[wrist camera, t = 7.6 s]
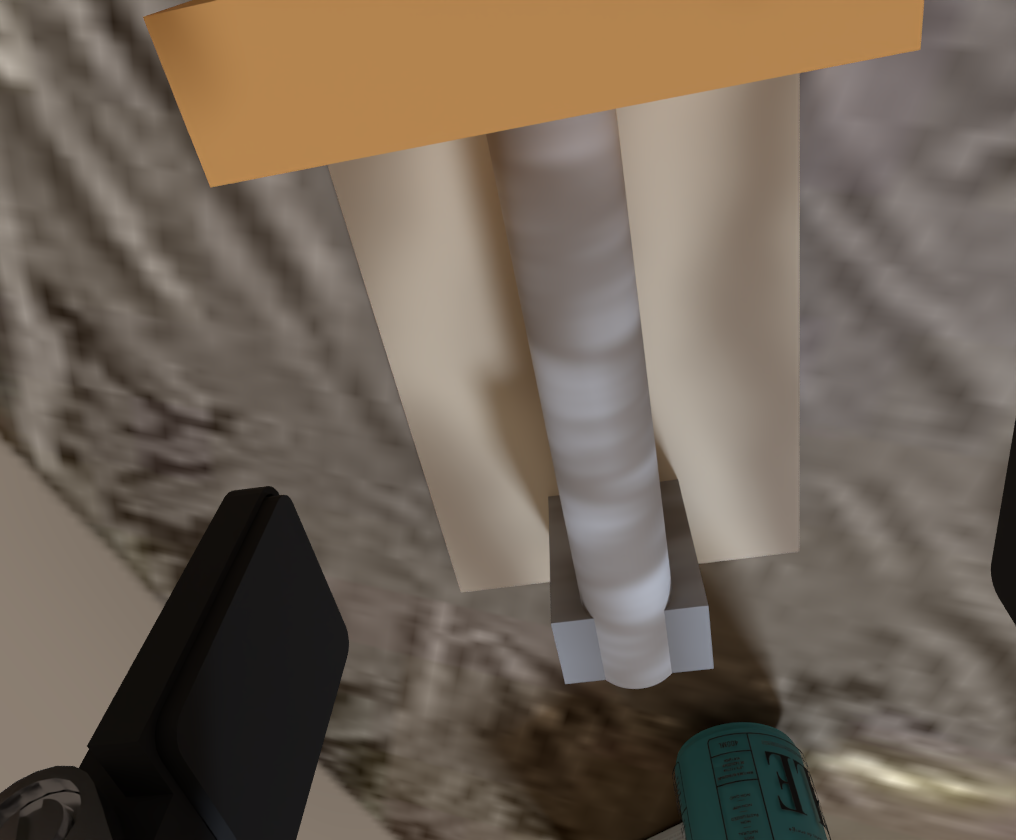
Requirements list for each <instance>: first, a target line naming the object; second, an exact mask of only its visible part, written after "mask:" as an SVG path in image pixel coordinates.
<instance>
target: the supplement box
mask: <svg viewBox="0 0 1016 840" xmlns="http://www.w3.org/2000/svg"><path fill="white" fill-rule="evenodd" d="M682 824H683V823H680V824H678V825H676V826H674V827H672V828H670V829H668V830H666V831H663V832H661V833H659V834H657V835H655V836H653V837H651V838H649V839H647V840H682V839H683V840H686V838H685V831H683V830H684V829H683V827H684V825H683V826H682ZM681 828H682V829H681ZM681 830H682V831H683V833H682V832H681ZM682 834H683V835H682ZM682 836H683V837H684V838H683V837H682Z"/></svg>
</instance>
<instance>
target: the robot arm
mask: <svg viewBox="0 0 1016 840" xmlns="http://www.w3.org/2000/svg"><path fill="white" fill-rule="evenodd" d="M991 577H992V582H993V586H994V588H995V591H996V593H997V595H998V597H999V599H1000V600H1001V602H1002V604H1003V605H1004V607H1005V609H1006V610H1007V612H1008V613H1009V615H1010V617H1011V618H1012V620H1013V622H1014V623H1015V625H1016V420H1015V426H1014V432H1013V438H1012V444H1011V450H1010V456H1009V462H1008V468H1007V474H1006V480H1005V485H1004V491H1003V497H1002V503H1001V509H1000V515H999V521H998V527H997V533H996V539H995V545H994V551H993V557H992V563H991ZM348 649H349V639H348V632H347V629H346V626H345V623H344V621H343V619H342V616H341V614H340V612H339V609H338V607H337V605H336V602H335V600H334V598H333V595H332V593H331V591H330V588H329V586H328V584H327V581H326V579H325V577H324V574H323V572H322V570H321V567H320V565H319V563H318V560H317V558H316V556H315V553H314V551H313V549H312V546H311V544H310V542H309V539H308V537H307V535H306V532H305V530H304V528H303V525H302V523H301V521H300V518H299V516H298V514H297V511H296V509H295V507H294V504H293V502H292V501H291V499H290V498H289V497H288V496H287V495H279V493H278V492H277V491H276V490H275V489H274V488H273V487H270V486H266V487H258V488H250V489H242V490H234V491H231V492H229V493H228V494H227V495H226V496H225V497H224V499H223V501H222V503H221V505H220V507H219V508H218V510H217V512H216V514H215V516H214V517H213V519H212V521H211V523H210V525H209V526H208V528H207V530H206V532H205V534H204V535H203V537H202V539H201V541H200V543H199V544H198V546H197V548H196V550H195V552H194V554H193V555H192V557H191V559H190V561H189V563H188V564H187V566H186V568H185V570H184V572H183V573H182V575H181V577H180V579H179V581H178V582H177V584H176V586H175V588H174V590H173V592H172V593H171V595H170V597H169V599H168V601H167V602H166V604H165V606H164V608H163V610H162V611H161V613H160V615H159V617H158V619H157V620H156V622H155V624H154V626H153V628H152V630H151V631H150V633H149V635H148V637H147V639H146V640H145V642H144V644H143V646H142V648H141V649H140V651H139V653H138V655H137V657H136V659H135V660H134V662H133V664H132V666H131V667H130V669H129V671H128V673H127V675H126V676H125V678H124V680H123V682H122V684H121V686H120V687H119V689H118V691H117V693H116V695H115V696H114V698H113V700H112V702H111V704H110V705H109V707H108V709H107V711H106V713H105V714H104V716H103V718H102V720H101V722H100V723H99V725H98V727H97V729H96V731H95V733H94V734H93V736H92V738H91V740H90V742H89V743H88V745H87V747H88V748H89V750H88V752H87V754H86V756H85V758H84V759H83V761H82V763H81V765H80V767H79V768H76V767H74V766H54V767H51V768H47V769H43V770H40V771H37V772H35V773H32V774H30V775H28V776H27V777H24V778H23V779H20V780H18V781H17V782H15V783H13V784H12V785H11V786H9V787H8V788H7V789H5V790H4V791H3V792H1V793H0V840H296V838H297V834H298V831H299V827H300V824H301V820H302V816H303V813H304V809H305V805H306V802H307V798H308V795H309V791H310V788H311V784H312V781H313V777H314V773H315V770H316V766H317V763H318V759H319V756H320V752H321V748H322V745H323V741H324V738H325V734H326V731H327V727H328V723H329V720H330V716H331V713H332V709H333V705H334V702H335V698H336V695H337V691H338V688H339V684H340V680H341V677H342V673H343V670H344V666H345V663H346V659H347V655H348Z"/></svg>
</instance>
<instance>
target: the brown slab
mask: <svg viewBox="0 0 1016 840" xmlns="http://www.w3.org/2000/svg"><path fill="white" fill-rule="evenodd" d="M923 8H924V0H192V1H189V2H186V3H183V4H180V5H177V6H174V7H171V8H168V9H165V10H162V11H159V12H156V13H153V14H150V15H147V16H145V17H143V18H144V21H145V23H146V26H147V28H148V31H149V33H150V36H151V38H152V41H153V43H154V46H155V48H156V51H157V54H158V56H159V59H160V61H161V64H162V66H163V69H164V71H165V74H166V76H167V79H168V81H169V84H170V86H171V89H172V91H173V94H174V96H175V99H176V101H177V104H178V107H179V109H180V112H181V114H182V117H183V119H184V122H185V124H186V127H187V129H188V132H189V134H190V137H191V139H192V142H193V144H194V147H195V149H196V152H197V154H198V157H199V160H200V162H201V165H202V167H203V170H204V172H205V175H206V177H207V180H208V182H209V185H210V187H215V186H220V185H225V184H231V183H236V182H241V181H246V180H251V179H256V178H261V177H267V176H272V175H277V174H282V173H287V172H292V171H297V170H303V169H308V168H313V167H318V166H323V165H328V164H334V163H339V162H344V161H349V160H354V159H359V158H364V157H370V156H375V155H380V154H385V153H390V152H395V151H401V150H406V149H411V148H416V147H421V146H426V145H431V144H437V143H442V142H447V141H452V140H457V139H462V138H467V137H473V136H478V135H483V134H488V133H493V132H498V131H504V130H509V129H514V128H519V127H524V126H529V125H534V124H540V123H545V122H550V121H555V120H560V119H565V118H570V117H576V116H581V115H586V114H591V113H596V112H601V111H607V110H612V109H617V108H622V107H627V106H632V105H637V104H643V103H648V102H653V101H658V100H663V99H668V98H674V97H679V96H684V95H689V94H694V93H699V92H704V91H710V90H715V89H720V88H725V87H730V86H735V85H740V84H746V83H751V82H756V81H761V80H766V79H771V78H777V77H782V76H787V75H792V74H797V73H802V72H807V71H813V70H818V69H823V68H828V67H833V66H838V65H843V64H849V63H854V62H859V61H864V60H869V59H874V58H880V57H885V56H890V55H895V54H900V53H905V52H910V51H916V50H920V48H921V35H922V21H923Z"/></svg>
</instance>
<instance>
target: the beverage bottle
mask: <svg viewBox="0 0 1016 840" xmlns="http://www.w3.org/2000/svg"><path fill="white" fill-rule="evenodd" d="M798 750H799V749H798V748H797V747H796V746H795V745H794V743H793V742H792V741H791V739H790V738H789V737H788V736H787V735H786V734H784V733H783V732H781V731H780V730H778V729H776V728H773V727H770V726H767V725H763V724H758V723H750V722H737V723H728V724H722V725H718V726H714V727H711V728H708V729H706V730H703V731H701V732H699V733H698V734H696V735H694V736H693V737H691V738H690V739H689V740H688V741H686V742H685V744H684V745H683V746H682V747H681V749H680V750H679V753H678V755H677V759H676V765H675V767H674V769H675V777H676V782H675V783H677V786H676V788H677V789H678V792H677V795H679V796H678V800H679V804H680V809H681V810H680V809H679V812H680V811H681V814H682V815H681V817H682V819H683V822H682V823H683V824H682V826H683V825H684V827H683V829H684V830H683V831H685V838H686V840H827V837H826V834H825V831H824V828H823V826H824V827H825V826H826V827H825V828H827V825H826V824H825V825H824V823H826V822H825V821H824V822H823V820H825V819H824V818H823V819H822V817H824V816H821V814H822V813H823V812H822V813H820V812H821V810H822V809H821V810H819V809H820V807H821V806H820V807H818V806H819V800H818V801H817V798H816V796H815V793H814V789H813V788H812V785H811V782H810V779H809V778H810V777H811V775H810V777H809V775H808V773H809V774H810V772H808V771H807V769H806V768H805V767H804V764H803V761H802V760H803V758H801V755H800V752H801V751H800V750H799V751H800V752H799V751H798ZM801 753H802V752H801ZM803 756H804V755H803ZM804 758H805V757H804ZM806 763H807V762H806ZM807 767H808V766H807ZM674 769H673V772H674ZM808 769H809V768H808ZM675 777H674V780H675ZM672 779H673V774H672ZM811 780H812V778H811ZM812 782H813V781H812ZM675 785H676V784H675ZM813 785H814V784H813ZM814 788H815V787H814ZM674 791H675V792H676V791H677V790H675V786H674ZM815 791H816V790H815ZM816 794H817V793H816ZM675 796H676V793H675ZM676 799H677V796H676ZM678 800H677V801H676V802H677V803H678ZM678 808H679V805H678ZM680 821H681V819H680ZM681 829H682V828H681ZM826 830H827V831H828V828H827V829H826ZM683 831H682V830H681V832H682V833H683ZM828 834H829V831H828ZM682 835H683V834H682ZM682 837H683V836H682ZM829 837H830V835H829ZM683 838H684V837H683ZM682 840H683V839H682ZM830 840H831V838H830Z"/></svg>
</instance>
